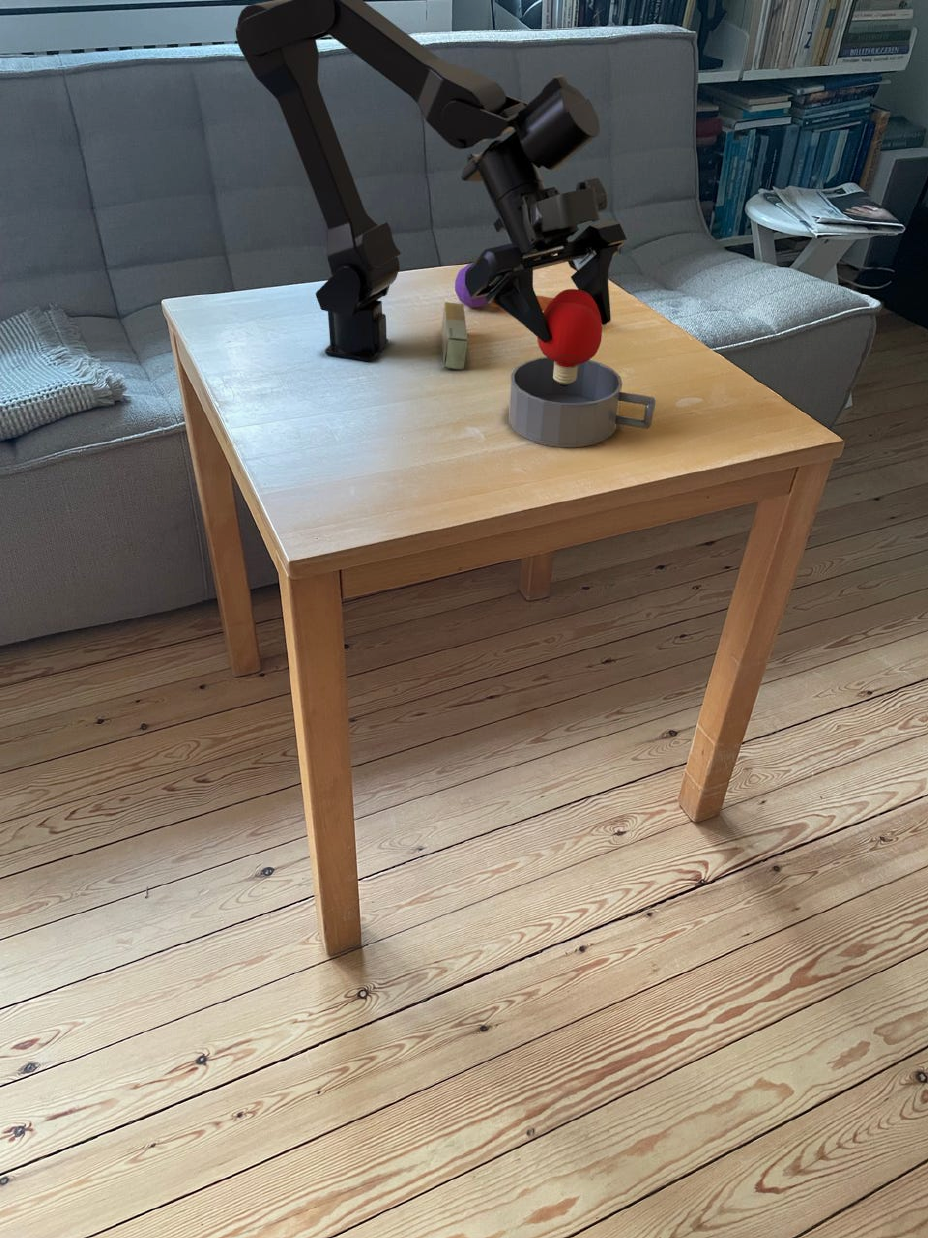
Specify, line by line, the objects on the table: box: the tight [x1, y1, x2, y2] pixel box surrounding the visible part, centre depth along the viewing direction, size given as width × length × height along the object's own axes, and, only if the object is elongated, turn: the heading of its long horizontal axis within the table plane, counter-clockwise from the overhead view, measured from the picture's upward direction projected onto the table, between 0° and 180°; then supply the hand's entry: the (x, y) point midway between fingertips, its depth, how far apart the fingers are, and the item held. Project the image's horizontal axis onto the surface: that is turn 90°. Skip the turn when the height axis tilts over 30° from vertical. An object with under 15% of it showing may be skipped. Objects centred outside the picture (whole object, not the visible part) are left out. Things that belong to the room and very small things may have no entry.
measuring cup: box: [508, 356, 657, 448], centre depth 105 cm, size 16×12×5 cm
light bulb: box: [536, 288, 603, 386], centre depth 101 cm, size 9×7×10 cm
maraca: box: [454, 262, 554, 312], centre depth 130 cm, size 6×6×20 cm
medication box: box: [440, 301, 469, 371], centre depth 120 cm, size 12×3×4 cm, turn 3°
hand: (578, 331), depth 99 cm, fingers closed on light bulb, 8 cm apart
